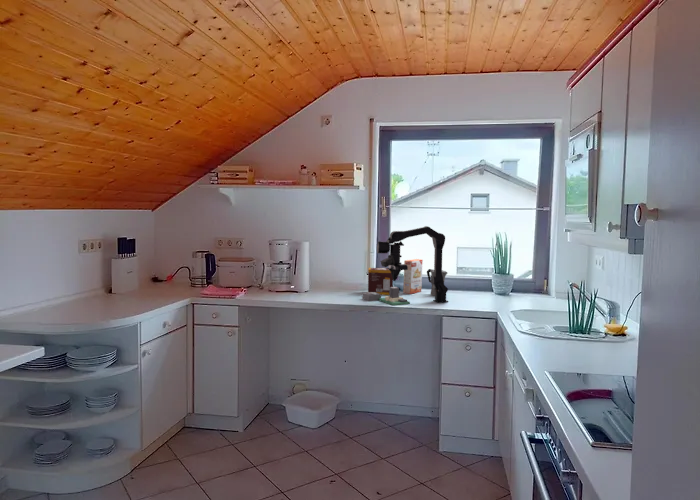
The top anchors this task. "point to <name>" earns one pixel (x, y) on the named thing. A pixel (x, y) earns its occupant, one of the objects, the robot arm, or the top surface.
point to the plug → (394, 292)
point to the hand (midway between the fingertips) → (394, 280)
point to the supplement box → (379, 280)
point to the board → (394, 300)
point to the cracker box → (413, 276)
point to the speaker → (371, 296)
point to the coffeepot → (430, 280)
